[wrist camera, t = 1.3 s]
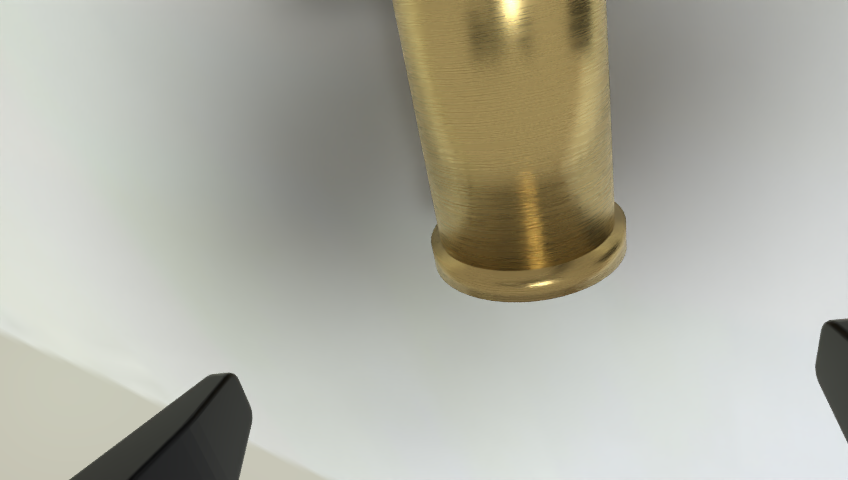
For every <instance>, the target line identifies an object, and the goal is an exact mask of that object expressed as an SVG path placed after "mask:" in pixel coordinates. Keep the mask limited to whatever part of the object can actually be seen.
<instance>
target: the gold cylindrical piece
mask: <svg viewBox="0 0 848 480" xmlns="http://www.w3.org/2000/svg"><path fill="white" fill-rule="evenodd" d="M392 2H393V7H394V12H395V17H396V21H397V26H398V31H399V36H400V41H401V46H402V51H403V56H404V61H405V66H406V71H407V76H408V81H409V86H410V91H411V96H412V101H413V106H414V110H415V115H416V120H417V125H418V130H419V135H420V140H421V145H422V150H423V155H424V160H425V165H426V170H427V175H428V180H429V185H430V190H431V195H432V199H433V204H434V209H435V214H436V219H437V225H436V227H435V228H434V230H433V233H432V236H431V244H432V249H433V253H434V258H435V263H436V267H437V271H438V273H439V275H440V276H441V278H442V279H443V280H444V281H445V282H446V283H447V284H449V285H450V286H451V287H453V288H454V289H456V290H458V291H460V292H462V293H465V294H467V295H470V296H473V297H477V298H480V299H486V300H491V301H501V302H531V301H540V300H547V299H553V298H557V297H562V296H565V295H569V294H572V293H575V292H578V291H580V290H583V289H585V288H588V287H590V286H592V285H594V284H596V283H598V282H599V281H601V280H602V279H604V278H605V277H607V276H608V275H610V274H611V273H612V272H613V271H614V270H615V269H616V268H617V267H618V266H619V264H620V263H621V262H622V260H623V258H624V256H625V253H626V249H627V247H626V218H625V215H624V212H623V210H622V209H621V207H620V206H619V205H618V204H617V203H616V202H614V187H613V162H612V137H611V112H610V87H609V62H608V37H607V12H606V0H392Z"/></svg>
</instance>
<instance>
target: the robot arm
mask: <svg viewBox="0 0 848 480" xmlns="http://www.w3.org/2000/svg"><path fill="white" fill-rule="evenodd" d="M815 369H816V376H817V379H818V382H819V384H820V386H821V388H822V390H823V393H824V395H825V397H826V399H827V401H828V403H829V405H830V407H831V409H832V411H833V413H834V415H835V418H836V420H837V422H838V424H839V426H840V428H841V430H842V432H843V434H844V436H845V438H846V441H847V443H848V319H836V320H829V321H827V322H825V323H824V325H823V326H822V329H821V334H820V340H819V346H818V352H817V358H816V365H815ZM251 425H252V410H251V407H250V404H249V402H248V400H247V397H246V395H245V393H244V390H243V388H242V386H241V384H240V381H239V379H238V377H237V376H236V375H235V374H233V373H220V374H212V375H209V376H207V377H206V378H204V379H203V380H202V381H200V382H199V383H198V384H196V385H195V386H194V387H192V388H191V389H190V390H188V391H187V392H186V393H184V394H183V395H182V396H180V397H179V398H178V399H176V400H175V401H174V402H172V403H171V404H170V405H168V406H167V407H166V408H164V409H163V410H162V411H160V412H159V413H158V414H156V415H155V416H154V417H152V418H151V419H150V420H148V421H147V422H146V423H144V424H143V425H142V426H140V427H139V428H138V429H136V430H135V431H134V432H132V433H131V434H130V435H128V436H127V437H126V438H124V439H123V440H122V441H120V442H119V443H118V444H116V445H115V446H114V447H113V448H111V449H110V450H108V451H107V452H106V453H104V454H103V455H102V456H100V457H99V458H98V459H96V460H95V461H94V462H92V463H91V464H90V465H88V466H87V467H86V468H84V469H83V470H82V471H80V472H79V473H78V474H76V475H75V476H74V477H72V478H71V479H70V480H239V476H240V472H241V467H242V463H243V459H244V455H245V451H246V446H247V442H248V438H249V433H250V429H251Z"/></svg>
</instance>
